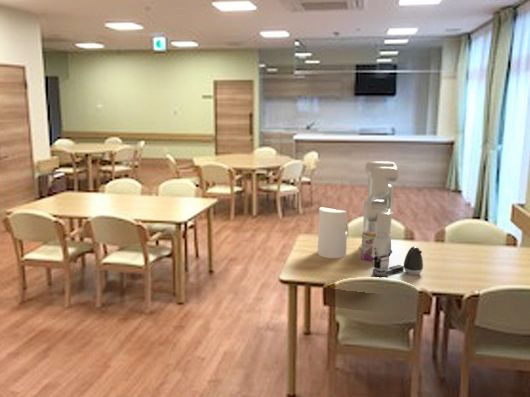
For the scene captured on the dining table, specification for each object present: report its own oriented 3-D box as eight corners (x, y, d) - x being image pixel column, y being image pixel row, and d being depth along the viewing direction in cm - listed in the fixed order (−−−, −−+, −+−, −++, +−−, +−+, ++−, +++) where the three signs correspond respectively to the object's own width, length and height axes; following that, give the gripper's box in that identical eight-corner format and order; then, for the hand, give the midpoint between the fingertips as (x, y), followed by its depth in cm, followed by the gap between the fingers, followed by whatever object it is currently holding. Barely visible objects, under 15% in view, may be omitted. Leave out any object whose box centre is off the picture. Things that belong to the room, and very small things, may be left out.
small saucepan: (395, 267, 283) (396, 256, 282) (406, 272, 277) (407, 260, 275) (369, 274, 272) (370, 262, 271) (380, 279, 266) (381, 266, 264)
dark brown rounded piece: (411, 277, 268) (413, 250, 265) (399, 271, 278) (401, 245, 275) (426, 275, 272) (429, 248, 269) (413, 269, 282) (416, 243, 279)
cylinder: (337, 260, 294) (339, 214, 289) (312, 254, 305) (313, 209, 299) (351, 253, 308) (353, 208, 302) (326, 247, 318) (328, 204, 312)
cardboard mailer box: (380, 265, 274) (381, 253, 273) (388, 268, 269) (389, 256, 268) (373, 267, 271) (373, 255, 269) (380, 270, 266) (381, 258, 265)
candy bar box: (360, 259, 297) (362, 232, 293) (361, 256, 301) (363, 230, 298) (379, 261, 293) (381, 234, 290) (380, 259, 298) (382, 232, 294)
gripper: (389, 230, 274) (386, 262, 278) (366, 235, 265) (364, 267, 268) (399, 234, 268) (397, 266, 272) (376, 238, 258) (374, 271, 262)
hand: (380, 266), depth 270 cm, fingers closed on cardboard mailer box, 5 cm apart
